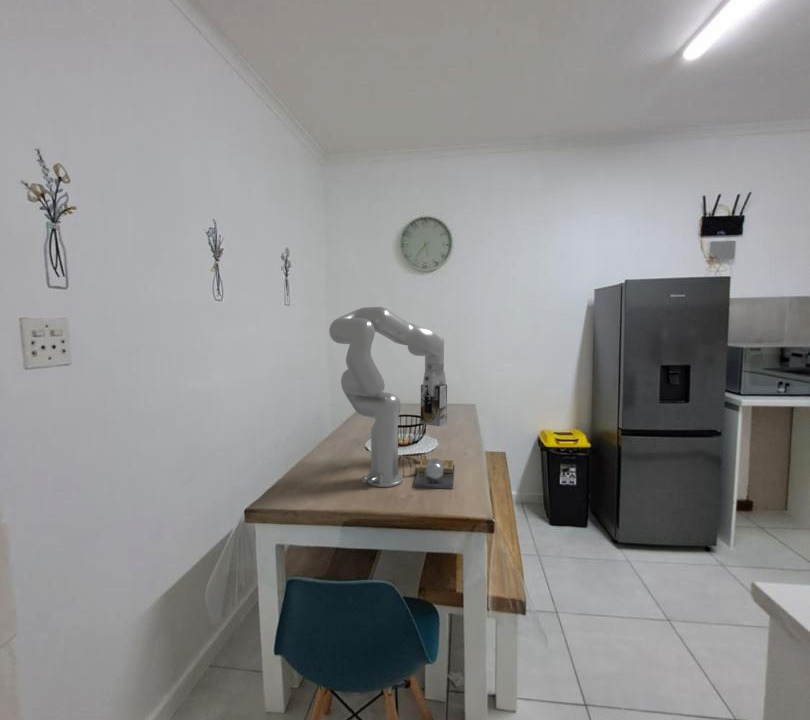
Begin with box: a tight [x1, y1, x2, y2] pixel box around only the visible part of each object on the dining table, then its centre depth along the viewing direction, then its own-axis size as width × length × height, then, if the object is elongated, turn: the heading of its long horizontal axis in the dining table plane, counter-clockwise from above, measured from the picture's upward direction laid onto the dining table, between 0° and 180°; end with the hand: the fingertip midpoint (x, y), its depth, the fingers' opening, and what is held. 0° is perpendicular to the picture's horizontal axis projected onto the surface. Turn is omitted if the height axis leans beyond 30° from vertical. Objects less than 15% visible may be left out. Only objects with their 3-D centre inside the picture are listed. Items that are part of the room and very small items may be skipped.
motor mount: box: [414, 458, 455, 490], centre depth 153 cm, size 20×13×8 cm, turn 172°
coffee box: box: [420, 383, 448, 427], centre depth 170 cm, size 9×6×16 cm
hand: (433, 411), depth 171 cm, fingers closed on coffee box, 6 cm apart
